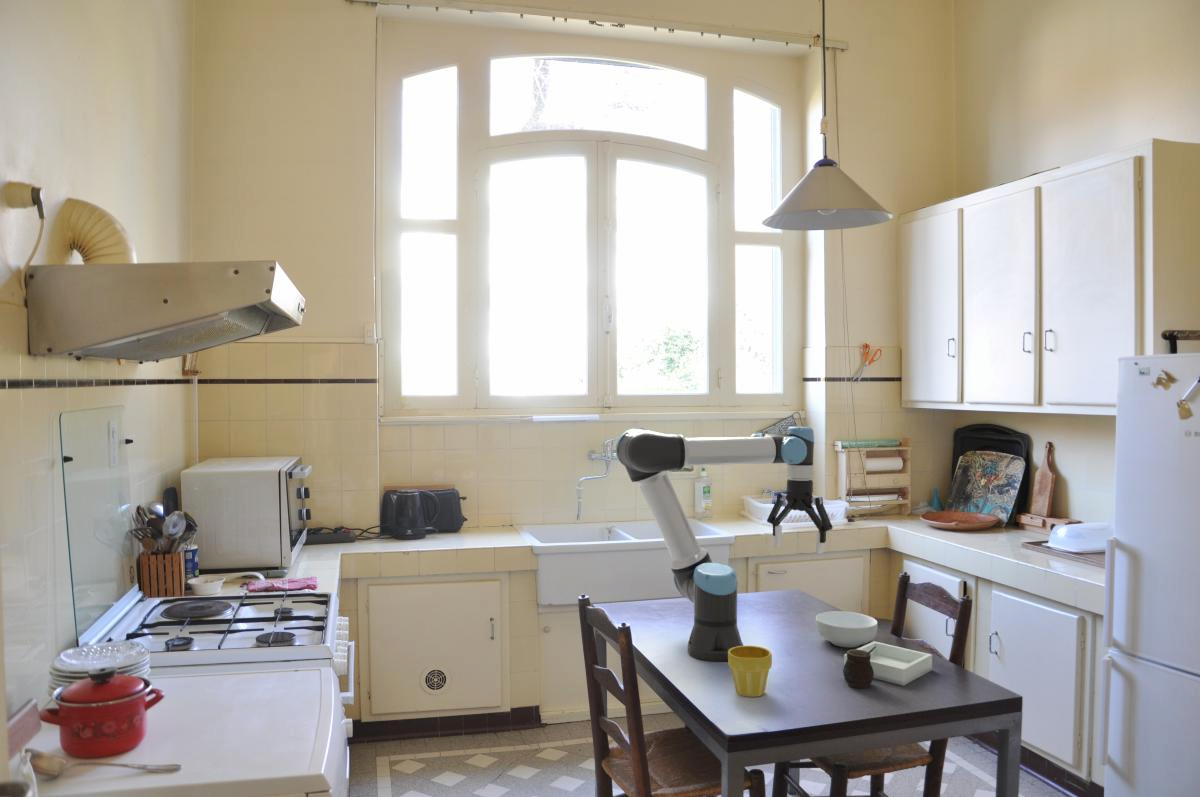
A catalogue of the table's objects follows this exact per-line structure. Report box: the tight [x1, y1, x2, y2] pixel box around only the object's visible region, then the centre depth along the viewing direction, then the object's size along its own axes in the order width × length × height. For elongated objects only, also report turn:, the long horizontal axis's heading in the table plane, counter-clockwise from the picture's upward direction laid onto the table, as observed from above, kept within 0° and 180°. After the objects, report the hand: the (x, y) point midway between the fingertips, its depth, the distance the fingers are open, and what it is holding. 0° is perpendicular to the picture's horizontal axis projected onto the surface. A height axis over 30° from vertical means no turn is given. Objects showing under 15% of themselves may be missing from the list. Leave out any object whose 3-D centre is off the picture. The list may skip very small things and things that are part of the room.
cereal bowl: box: [815, 610, 878, 648], centre depth 242 cm, size 17×17×7 cm
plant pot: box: [727, 645, 773, 698], centre depth 204 cm, size 10×10×10 cm
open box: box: [843, 640, 933, 687], centre depth 219 cm, size 16×16×4 cm
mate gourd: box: [842, 646, 876, 689], centre depth 209 cm, size 7×8×10 cm
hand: (798, 550), depth 253 cm, fingers open, 13 cm apart
